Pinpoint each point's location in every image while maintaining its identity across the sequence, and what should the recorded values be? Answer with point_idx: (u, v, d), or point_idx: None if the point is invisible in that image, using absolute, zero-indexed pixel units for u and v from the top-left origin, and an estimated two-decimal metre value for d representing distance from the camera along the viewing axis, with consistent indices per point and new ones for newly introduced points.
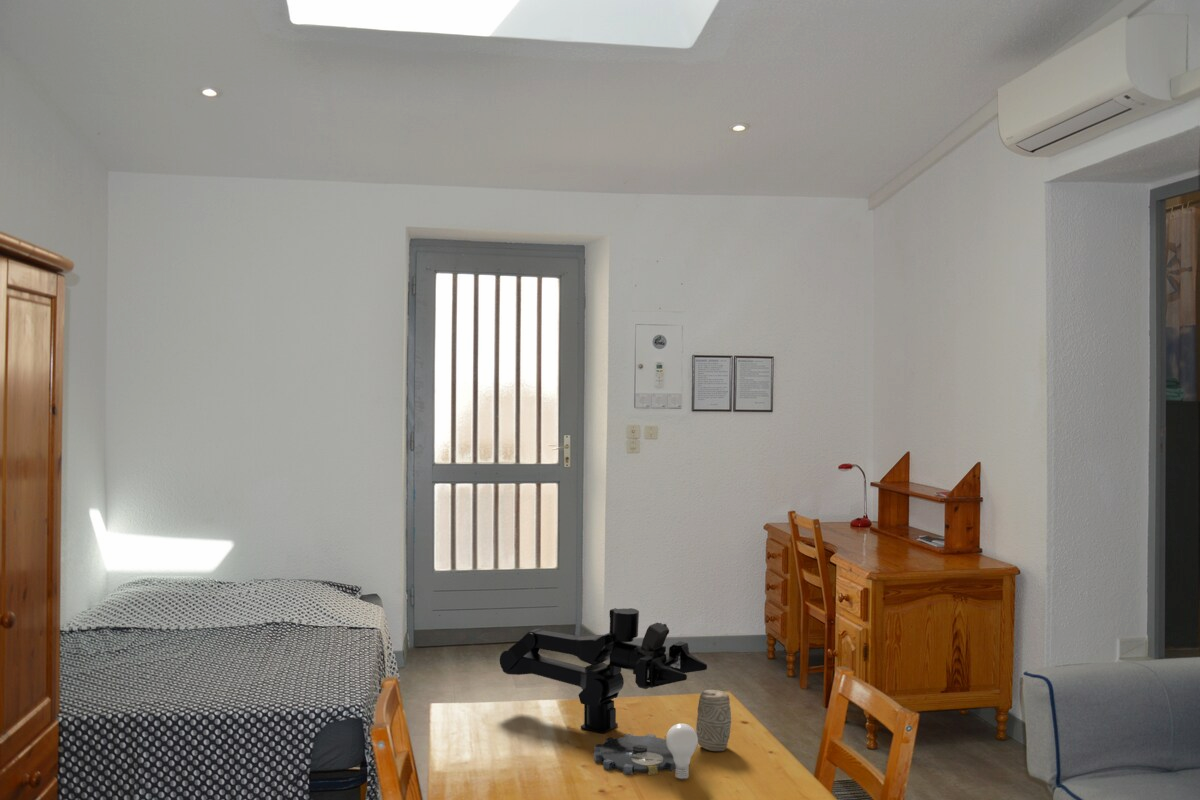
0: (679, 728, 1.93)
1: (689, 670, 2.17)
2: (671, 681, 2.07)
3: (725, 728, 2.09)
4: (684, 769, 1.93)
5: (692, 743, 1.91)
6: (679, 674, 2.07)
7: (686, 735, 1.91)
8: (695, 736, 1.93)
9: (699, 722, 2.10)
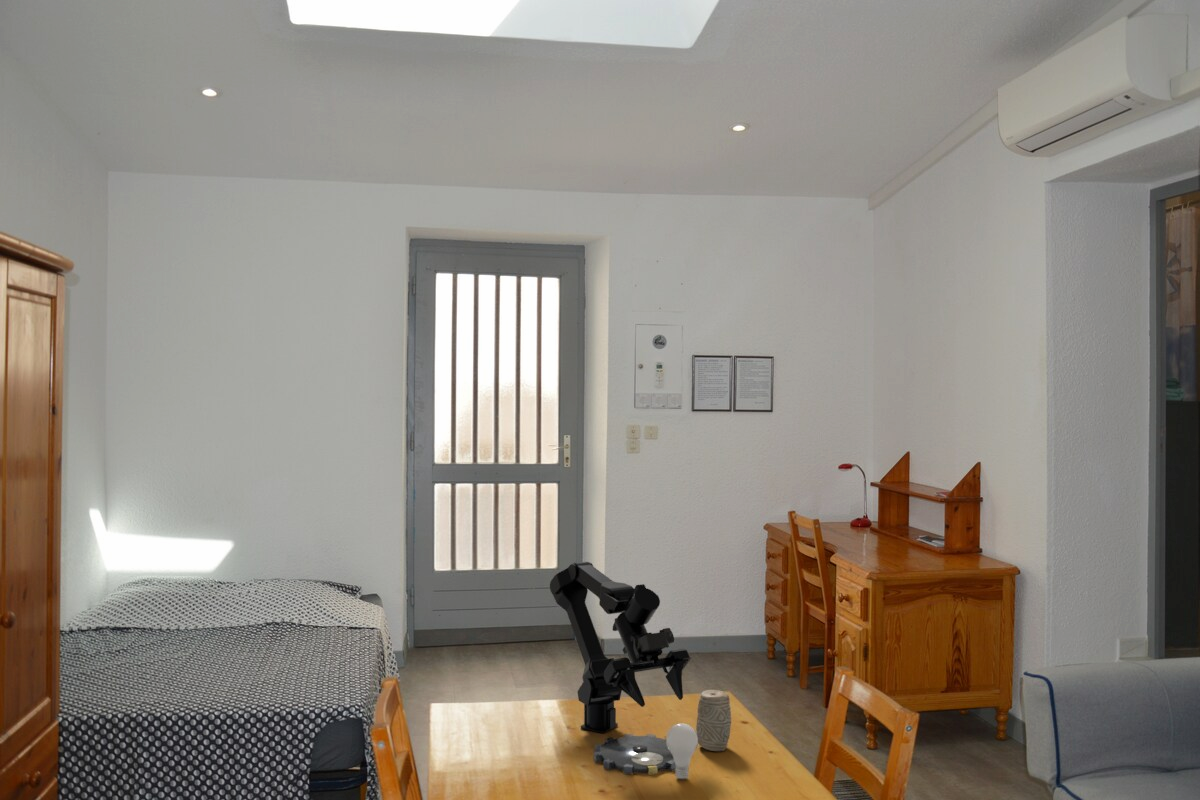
0: (679, 728, 1.93)
1: (671, 684, 2.06)
2: (631, 696, 2.00)
3: (725, 728, 2.09)
4: (684, 769, 1.93)
5: (692, 743, 1.91)
6: (639, 698, 1.98)
7: (686, 735, 1.91)
8: (695, 736, 1.93)
9: (699, 722, 2.10)
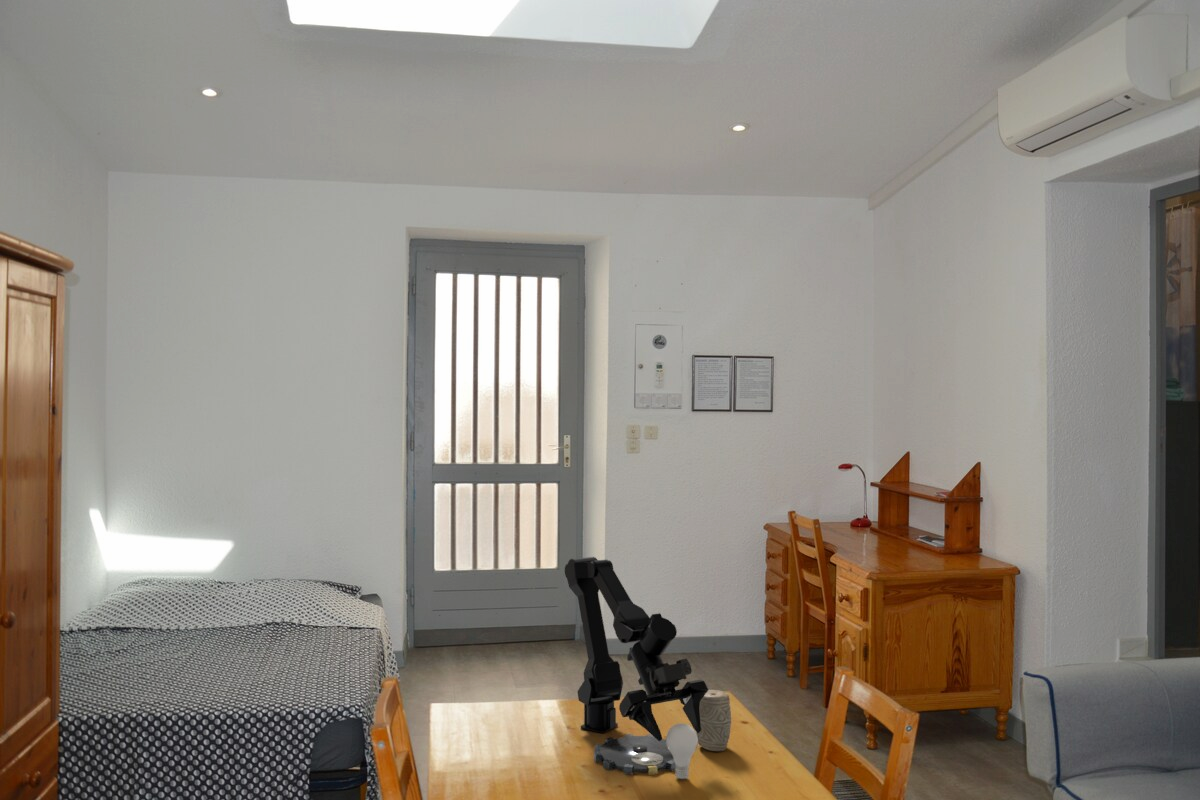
0: (679, 728, 1.93)
1: (688, 716, 2.01)
2: (648, 730, 1.94)
3: (725, 728, 2.09)
4: (684, 769, 1.93)
5: (692, 743, 1.91)
6: (656, 732, 1.93)
7: (686, 735, 1.91)
8: (695, 736, 1.93)
9: None
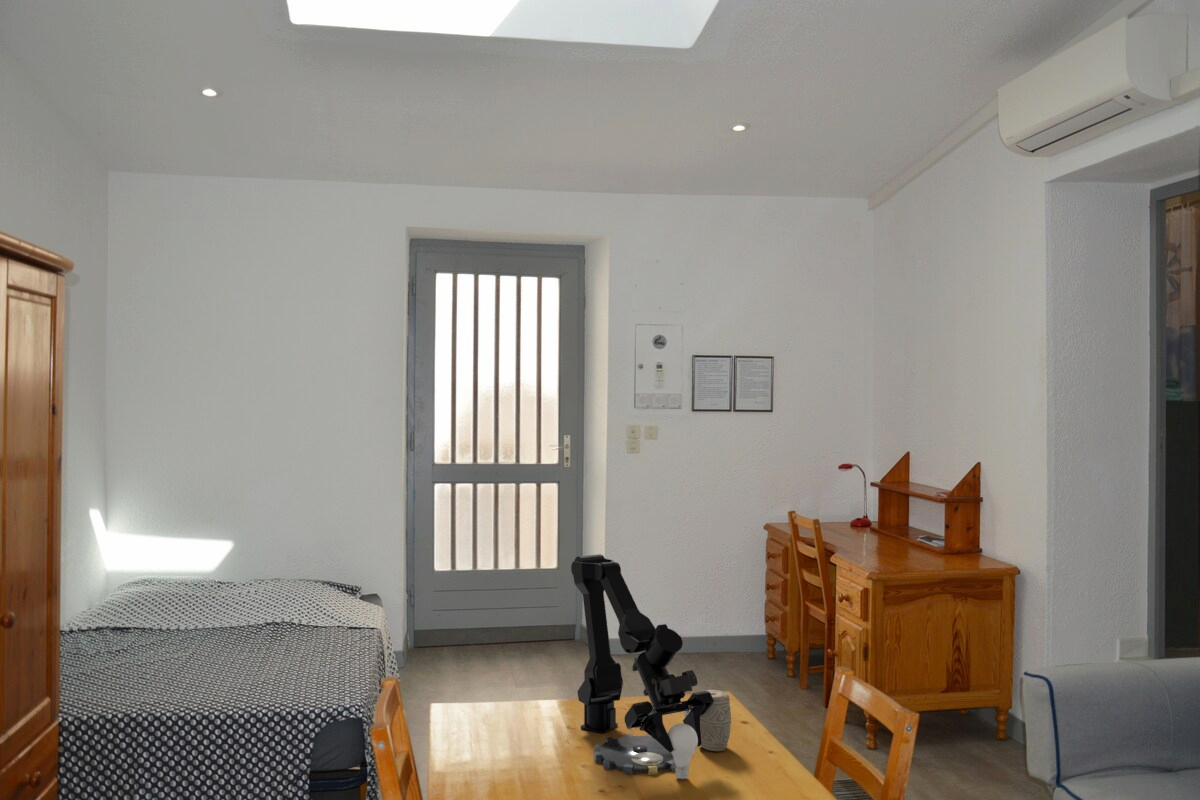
0: (679, 728, 1.93)
1: None
2: (659, 741, 1.93)
3: (725, 728, 2.09)
4: (684, 769, 1.93)
5: (692, 743, 1.91)
6: (667, 744, 1.92)
7: (686, 735, 1.91)
8: (695, 736, 1.93)
9: None
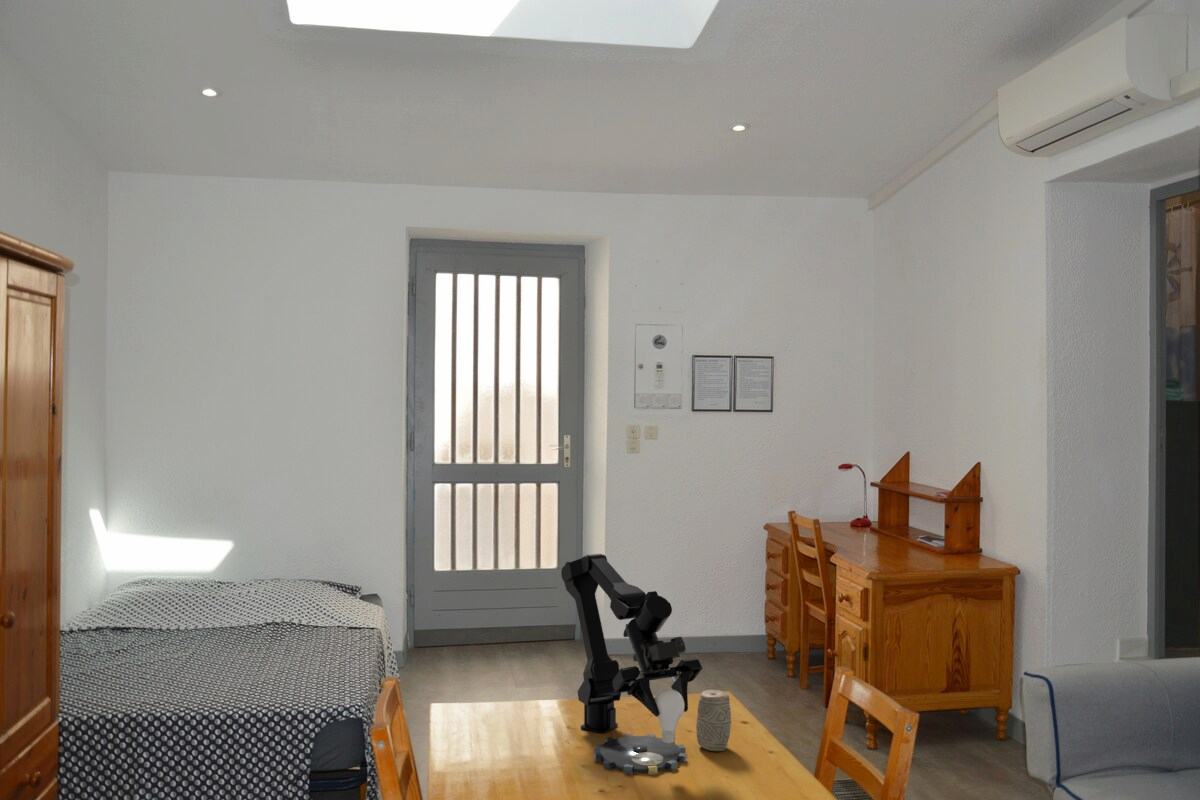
0: (666, 693, 1.95)
1: None
2: (645, 705, 1.96)
3: (725, 728, 2.09)
4: (670, 733, 1.95)
5: (678, 708, 1.94)
6: (653, 708, 1.94)
7: (672, 700, 1.94)
8: (681, 701, 1.95)
9: (699, 722, 2.10)
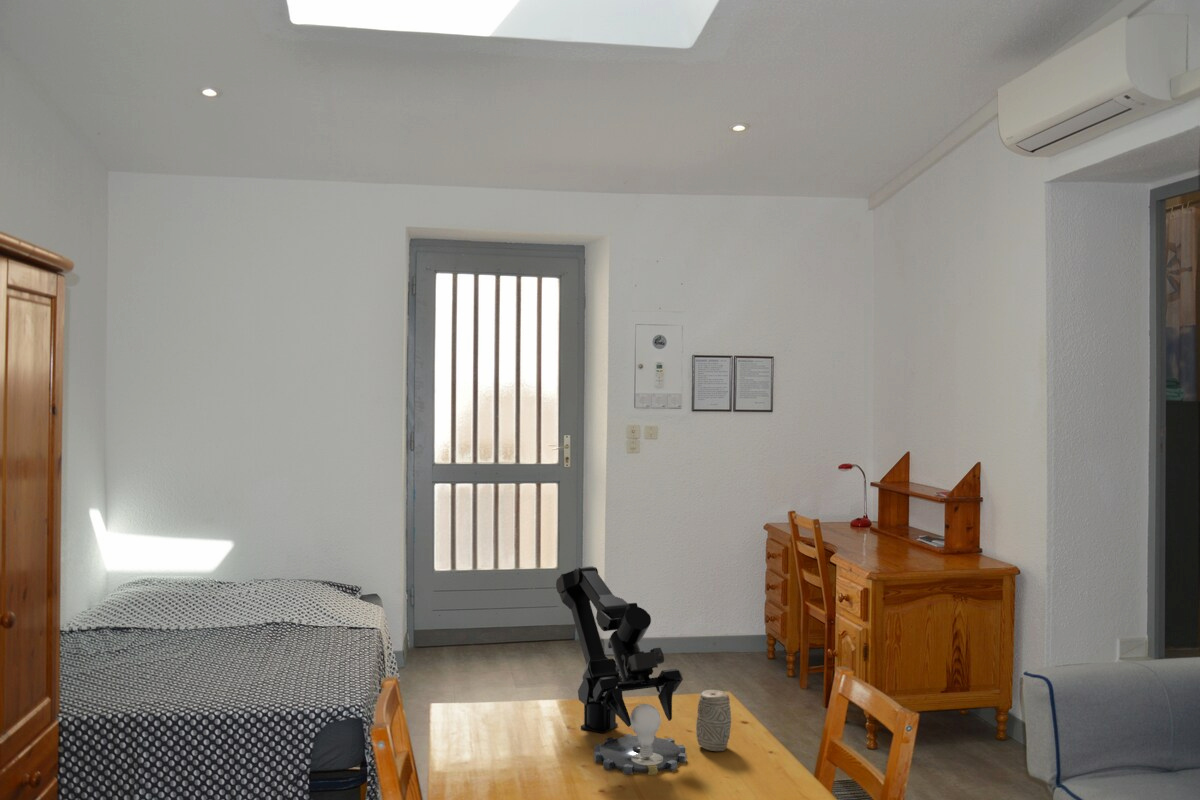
0: (641, 708, 1.99)
1: (662, 704, 2.05)
2: (618, 715, 2.00)
3: (725, 728, 2.09)
4: (647, 748, 1.99)
5: (653, 722, 1.98)
6: (625, 718, 1.98)
7: (647, 715, 1.98)
8: (657, 716, 1.99)
9: (699, 722, 2.10)
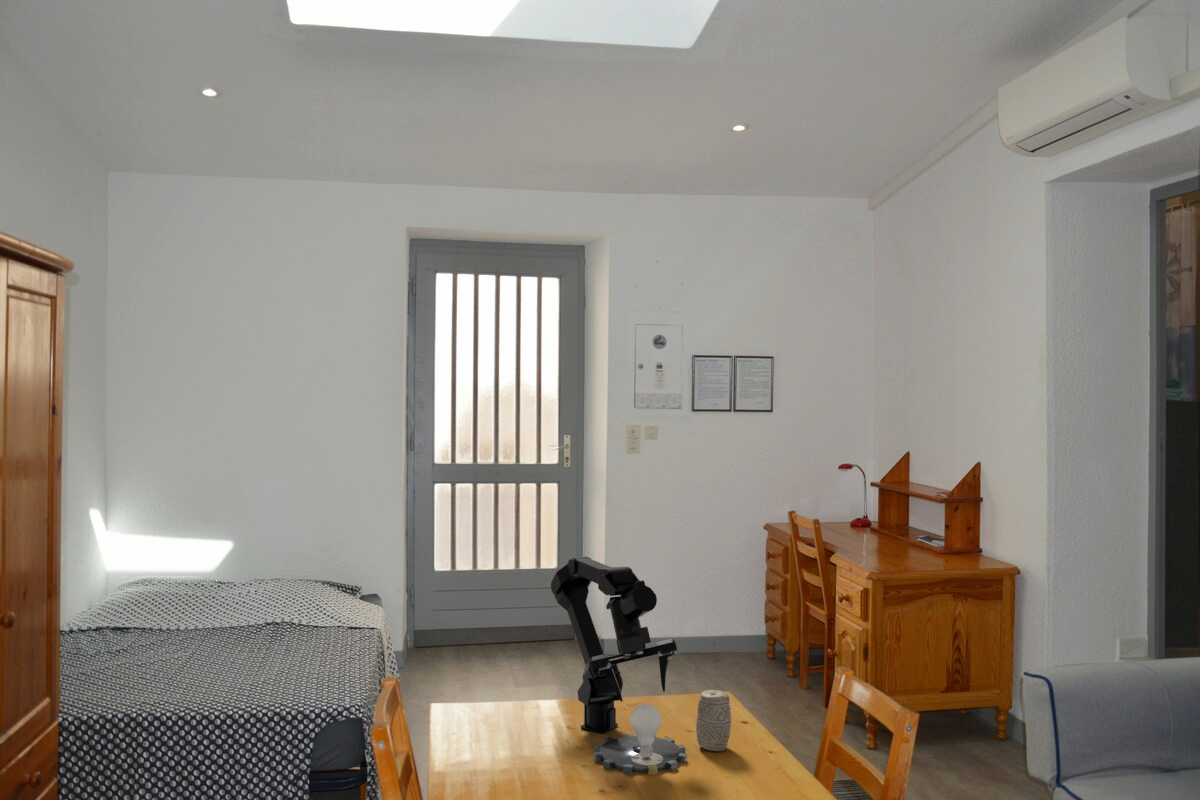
0: (642, 708, 1.99)
1: None
2: None
3: (725, 728, 2.09)
4: (647, 748, 1.99)
5: (653, 722, 1.98)
6: (617, 695, 2.07)
7: (648, 715, 1.98)
8: (657, 716, 1.99)
9: (699, 722, 2.10)
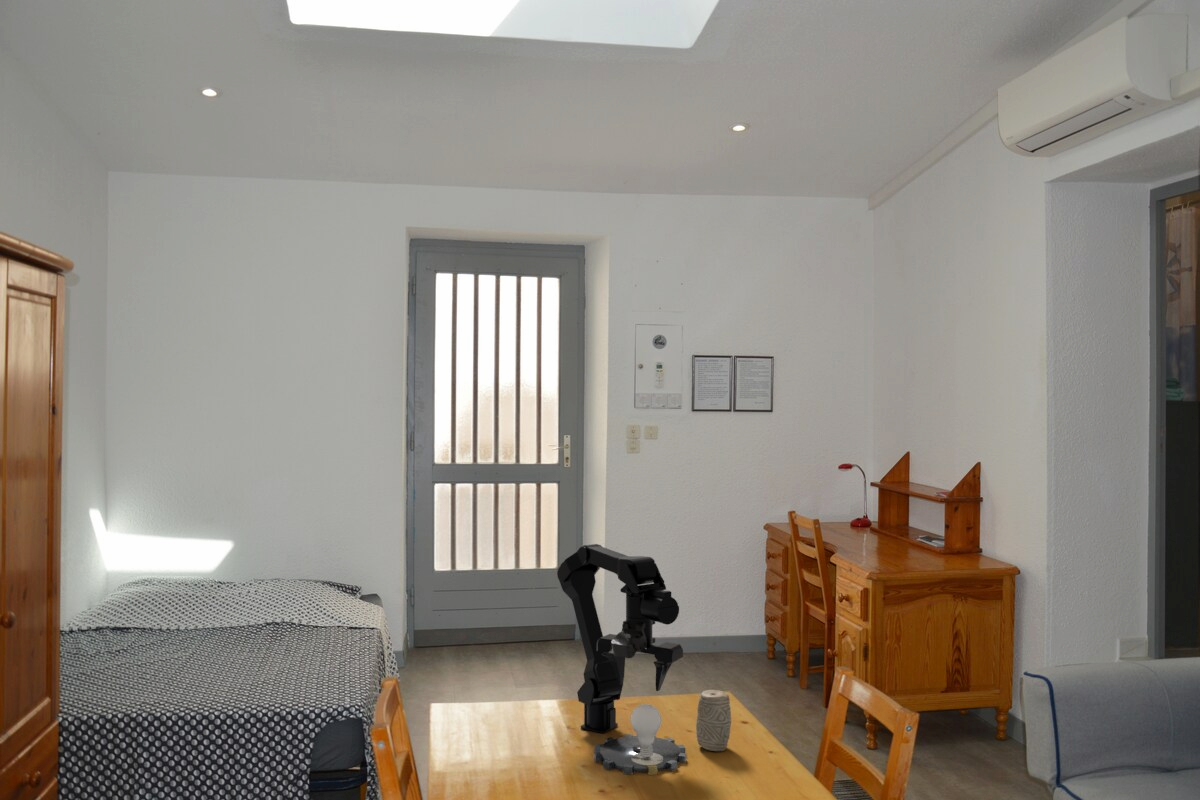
0: (642, 708, 1.99)
1: None
2: None
3: (725, 728, 2.09)
4: (647, 748, 1.99)
5: (653, 723, 1.98)
6: None
7: (648, 715, 1.98)
8: (658, 716, 1.99)
9: (699, 722, 2.10)
